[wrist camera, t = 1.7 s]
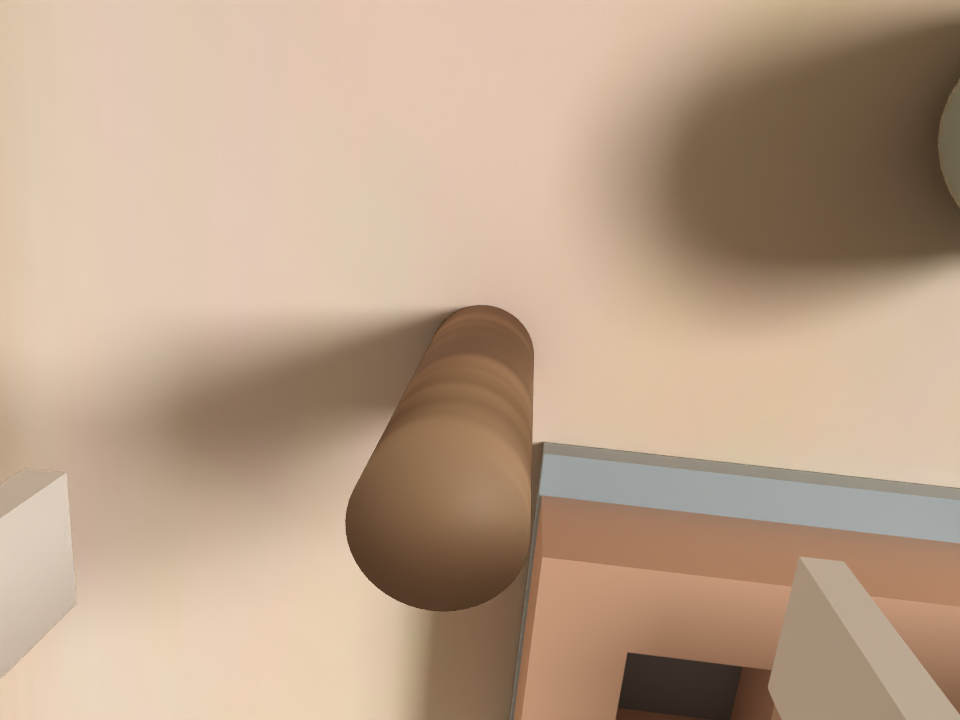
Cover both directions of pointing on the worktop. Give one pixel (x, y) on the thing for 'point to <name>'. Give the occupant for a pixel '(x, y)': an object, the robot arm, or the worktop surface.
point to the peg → (452, 470)
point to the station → (712, 580)
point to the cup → (951, 143)
